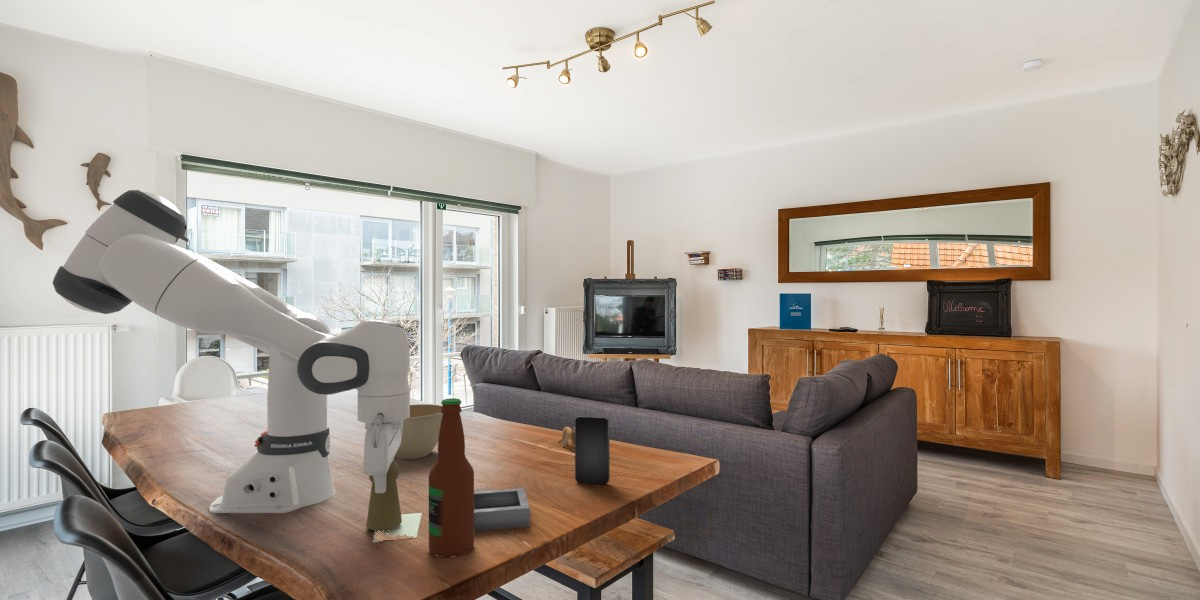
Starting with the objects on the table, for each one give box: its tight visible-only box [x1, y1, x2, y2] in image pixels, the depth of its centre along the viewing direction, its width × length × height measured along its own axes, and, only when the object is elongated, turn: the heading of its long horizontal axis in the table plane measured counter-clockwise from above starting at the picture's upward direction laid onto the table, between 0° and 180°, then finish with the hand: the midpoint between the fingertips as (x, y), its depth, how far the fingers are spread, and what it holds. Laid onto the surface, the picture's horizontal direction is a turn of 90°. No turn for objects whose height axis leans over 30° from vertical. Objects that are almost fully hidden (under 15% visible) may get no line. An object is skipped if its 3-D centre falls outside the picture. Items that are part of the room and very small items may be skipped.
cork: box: [366, 461, 402, 531], centre depth 103 cm, size 6×6×11 cm
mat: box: [372, 512, 423, 543], centre depth 102 cm, size 12×12×1 cm
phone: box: [574, 415, 611, 486], centre depth 128 cm, size 8×1×15 cm, turn 78°
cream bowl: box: [394, 403, 443, 460], centre depth 151 cm, size 18×18×12 cm
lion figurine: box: [557, 426, 575, 452], centre depth 159 cm, size 12×4×7 cm, turn 44°
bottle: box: [428, 397, 475, 558], centre depth 94 cm, size 7×7×25 cm
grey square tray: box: [474, 487, 531, 532], centre depth 108 cm, size 11×11×4 cm
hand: (384, 485), depth 102 cm, fingers open, 6 cm apart
